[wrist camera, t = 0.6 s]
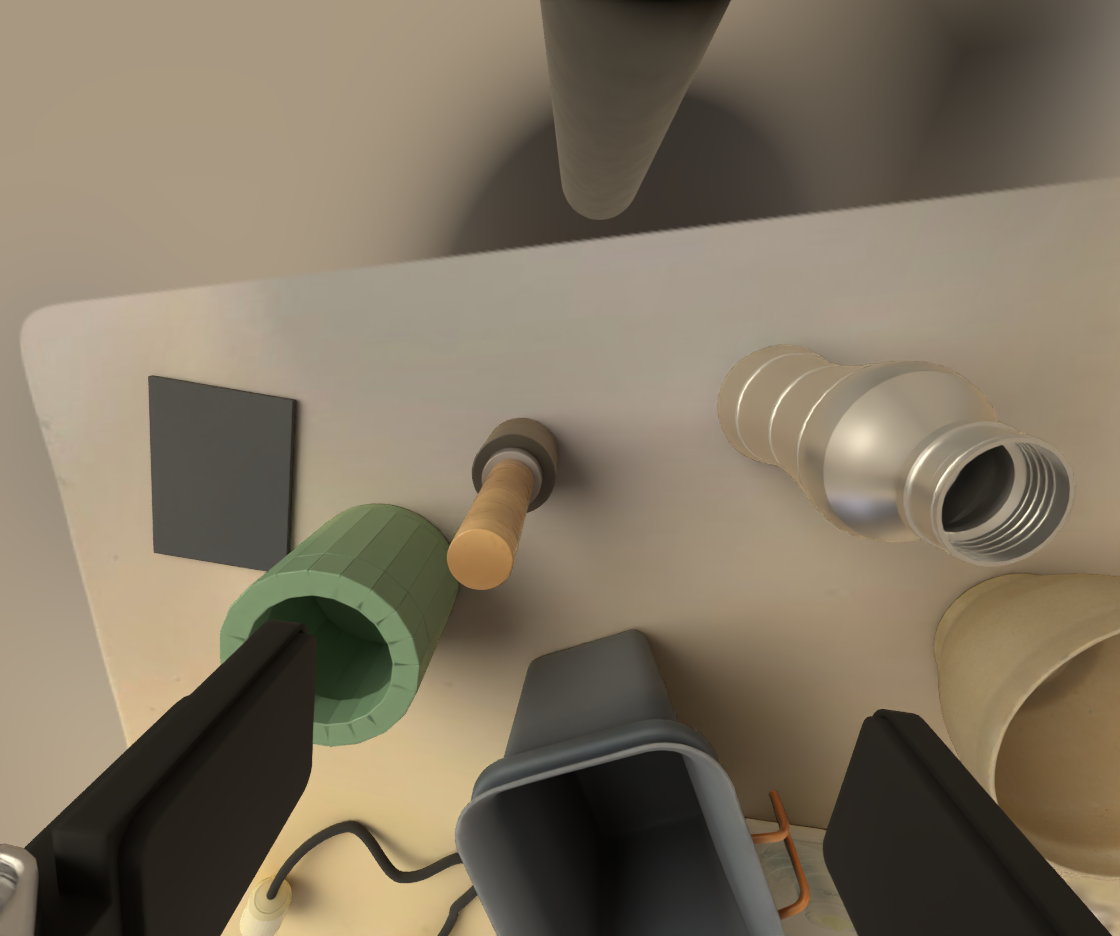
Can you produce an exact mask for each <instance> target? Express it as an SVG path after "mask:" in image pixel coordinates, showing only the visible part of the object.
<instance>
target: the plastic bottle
mask: <svg viewBox="0 0 1120 936" xmlns="http://www.w3.org/2000/svg"><path fill="white" fill-rule="evenodd" d="M717 406H718V417H719V420H720V424H721V427H722V429H723V431H724V433H725V435H726V437H727V439H728V441H729V442H730V443H731V444H732V445H733V447H734V448H735V449H736V450H738V451H739V452H740V453H742V454H743V455H745V456H747V457H749V458H751V459H754V460H756V461H759V462H763V463H767V464H771V465H776V466H778V467H780V468H782V469H784V470H785V471H786V472H787V473H788V474H789V475H790V476H791V477H792V478H794V479H795V480H796V482H797V483H798V484H799V486H800V487H801V488H802V490H803V491H804V492H805V494H806V495H807V496H808V498H809V500H810V501H811V502H812V503H813V504H814V506H815V507H816V508H817V509H818V510H819V511H820V512H821V513H822V514H823V515H824V516H825V517H826V518H827V519H828V520H829V521H830V522H832V523H833V524H834V525H835V526H837V527H838V528H839V529H841V530H843V531H846V532H848V533H850V534H852V535H854V536H859V537H863V538H867V539H872V540H877V541H883V542H907V541H914V540H920V539H922V540H923V541H925V542H926V543H928V544H930V545H933V546H935V547H937V548H941V549H943V550H944V551H946V552H948V553H949V554H950V555H952V556H953V557H955V558H957V559H959V560H962V561H964V562H967V563H969V564H973V565H977V566H982V567H998V566H1004V565H1009V564H1013V563H1016V562H1019V561H1022V560H1024V559H1025V558H1027V557H1029V556H1031V555H1033V554H1035V553H1036V552H1038V551H1039V550H1040V549H1042V548H1043V547H1045V546H1046V545H1047V544H1048V543H1049V542H1050V541H1051V540H1052V539H1053V538H1054V537H1055V536H1056V535H1057V533H1058V532H1059V531H1060V529H1061V528H1062V527H1063V525H1064V524H1065V522H1066V520H1067V518H1068V516H1069V514H1070V512H1071V508H1072V505H1073V502H1074V495H1075V481H1074V474H1073V472H1072V469H1071V466H1070V464H1069V462H1068V461H1067V459H1066V458H1065V457H1064V455H1063V454H1062V453H1061V452H1060V451H1058V450H1057V449H1056V448H1055V447H1054V446H1052V445H1050V444H1049V443H1047V442H1045V441H1043V440H1041V439H1039V438H1036V437H1033V436H1029V435H1026V434H1022V433H1020V432H1019V431H1018V430H1016V429H1014V428H1012V427H1009V426H1007V425H1005V424H1001V423H999V422H998V419H997V417H996V415H995V412H994V410H993V407H992V405H991V404H990V403H989V401H988V400H987V398H986V397H985V396H984V394H983V393H982V392H981V391H980V390H978V389H977V388H976V387H975V386H974V385H972V384H971V383H970V382H969V381H967V380H966V379H965V378H963V377H962V376H960V375H959V374H958V373H956V372H954V371H952V370H950V369H948V368H946V367H944V366H941V365H937V364H932V363H928V362H916V361H891V362H884V363H876V364H868V365H860V366H844V365H836V364H834V363H831V362H828V361H826V360H825V359H824V358H823V357H821V356H819V355H817V354H815V353H813V352H811V351H809V350H807V349H805V348H803V347H799V346H795V345H776V346H770V347H767V348H764V349H761V350H759V351H756V352H754V353H751V354H750V355H748V356H746V357H745V358H743V359H742V360H741V361H739V362H738V363H737V364H736V365H735V366H734V367H733V368H732V370H731V371H730V372H729V373H728V375H727V376H726V378H725V380H724V382H723V384H722V386H721V390H720V393H719V397H718V405H717Z"/></svg>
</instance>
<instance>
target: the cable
mask: <svg viewBox="0 0 1120 936" xmlns="http://www.w3.org/2000/svg"><path fill="white" fill-rule="evenodd" d="M345 832H351V833H353V834H355V835H356V836H358V837H359V838H360V839H361V840H362V841H363V842H364V844H365V845H366V846H367V847H368V849H369V850H370V852H371V853H372V855H373V856H374V858H375V860H376V861H377V863H378V864H379V866H380V867H381V869H382V870H383V871H384V872H385V874H386V875H387V876H388V877H389V878H391V879H392V880H393V881H395V882H398V883H413V882H418V881H421V880H424V879H426V878H429V877H431V876H433V875H435V874H437V873H439V872H441V871H442V870H444V869H446V868H448V867H450V866H453V865H456V864H460V863H463V862H462V860H461V858H460V855H459V853H455V854H452V855H449V856H447V857H445V858H443V859H441V860H439V861H437V862H435V863H433V864H432V865H430V866H427V867H425V868H423V869H420V870H417V871H411V872H402V871H399V870H398V869H396V868H395V867H394V866H393V865H392V863H391V862H390V861H389V859H388V858H387V856H386V855H385V853H384V852H383V850H382V849H381V847H380V846H379V844H378V843H377V841H376V840H375V838H374V837H373V836H372V834H371V833H370V832H369V831H368V830H367V829H366V828H365V827H363V826H362V825H361V824H359V823H356V822H352V821H348V822H342V823H338V824H335V825H333V826H330V827H328V828H326V829H324V830H322V831H320V832H319V833H317V834H315V835H314V836H312V837H311V838H310V839H308V840H307V841H306V842H304V843H303V844H302V845H301V846H300V847H299V848H298V849H297V850H296V851H295V852H294V853H293V854H292V855H291V856H290V857H289V858H288V859H287V861H286V862H285V863H284V865H283V866H282V867H281V869H280V870H279V872H278V873H277V875H276V877H270V878H267V879H265V880H263V881H261V882H260V883H259V884H258V885H257V886H256V887H255V888H254V889H253V891H252V893H251V895H250V897H249V900H248V902H247V905H246V907H245V910H244V912H243V915H242V917H241V921H240V931H241V934H242V936H274V934H275V933H276V932H277V931H278V929H279V927H280V925H281V923H282V921H283V919H284V916H285V914H286V912H287V910H288V907H289V905H290V903H291V899H292V890H291V887H290V885H289V884H288V882H287V881H286V880H284V879H285V878H286V876H287V875H288V873H289V872H290V871H291V869H292V868H293V867H294V865H295V864H296V863H297V862H298V861H299V860H300V859H301V858H302V857H303V856H304V855H305V854H306V853H307V852H308V851H310V850H311V849H312V848H314V847H315V846H316V845H318V844H319V843H321V842H323V841H324V840H326V839H328V838H330V837H332V836H335V835H337V834H341V833H345ZM477 895H478V894H477V892H476V890H475V888H474V886H472V887H471V888H470V889H469V890H468V891H467V892H465V893H464V894H463V895H462V896H461V897H460V898H459V899H457V900H456V901H455V902H454V903H453V905H452V906H451V908H450V912H449V916H448V918H447V920H446V922H445V924H444V926H443V928H442V929H441V931H440V933H439V934H438V936H448V935H449V933H450V932H451V930H452V928H453V926H454V924H455V922H456V920H457V917H458V912H459V911H460V910H461V909H462V908H463V907H464V906H466V905H467V904H468V903H469V902H470V901H471V900H473V899H474V898H475V897H476V896H477Z"/></svg>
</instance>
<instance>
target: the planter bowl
mask: <svg viewBox="0 0 1120 936" xmlns="http://www.w3.org/2000/svg"><path fill="white" fill-rule="evenodd" d="M934 655H935V659H936V663H937V665H938V668H939V671H938V688H939V696H940V704H941V709H942V714H943V718H944V721H945V724H946V727H947V730H948V733H949V736H950V738H951V741H952V743H953V745H954V747H955V750H956V752H957V754H958V756H959V758H960V760H961V762H962V763H963V765H964V767H965V768H966V769H967V770H968V771H969V772H970V773H971V775H972V776H973V777H974V778H975V779H976V780H977V781H978V783H979V784H980V785H981V786H982V787H983V788H984V789H985V791H986V792H987V793H988V794H989V795H990V796H991V797H992V799H993V800H994V801H995V802H996V803H997V804H998V805H999V807H1000V808H1001V809H1002V810H1003V811H1004V812H1005V814H1006V815H1007V816H1008V817H1009V818H1010V819H1011V820H1012V822H1013V823H1014V824H1015V825H1016V826H1017V827H1018V828H1019V830H1020V831H1021V832H1022V833H1023V834H1024V835H1025V836H1026V838H1027V839H1028V840H1029V841H1030V842H1031V843H1032V844H1033V846H1034V847H1035V848H1036V849H1037V850H1038V851H1039V852H1040V854H1041V855H1042V856H1043V857H1044V858H1045V859H1046V861H1047V862H1048V863H1049V864H1050V865H1051V866H1052V867H1054V868H1056V869H1059V870H1062V871H1064V872H1067V873H1071V874H1074V875H1078V876H1082V877H1088V878H1094V879H1102V880H1120V577H1118V576H1109V575H1098V574H1075V573H1074V574H1053V575H1044V576H1041V575H1035V574H1023V573H1019V574H1009V575H1003V576H999V577H996V578H992V579H989V580H987V581H984V582H982V583H980V584H978V585H976V586H975V587H973V588H971V589H969V590H968V591H966V592H965V593H964V594H962V595H961V596H960V597H959V598H957V599H956V601H955V602H954V603H953V604H952V605H951V606H950V607H949V608H948V610H947V611H946V613H945V614H944V616H943V617H942V619H941V621H940V623H939V625H938V628H937V631H936V635H935V639H934Z"/></svg>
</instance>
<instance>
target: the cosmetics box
mask: <svg viewBox="0 0 1120 936" xmlns="http://www.w3.org/2000/svg"><path fill="white" fill-rule="evenodd" d="M745 821H746V823H747V826H748V829H749V831H750V834H761V833H770V832H777V831H778V830H779V825H778V823H775V822H768V821H762V820H755V819H748V818H745ZM826 831H827V830H824V829H817V828H809V827H803V826H796V825H789V832H790V835H791V838H792V841H793V843H794V846H795V849H796V852H797V855H798V858H799V861H800V864H801V866H802V869H803V872H804V875H805V877H806V880H807V883H808V886H809V893H810V900H809V903H808V905H807V907H806V908H805V909H804V910H803V911H802V912H800V913H797V914H795V915H793V916H790V917H788V918H786V919H783V920H781V923H782V926H783V929H784V932H785V935H786V936H858V935H857V933H856V930H855V928H854V926H853V924H852V922H851V920H850V917H849V915H848V913H847V911H846V909H845V907H844V904H843V902H842V900H841V898H840V896H839V893H838V891H837V889H836V887H835V885H834V883H833V880H832V878H831V876H830V874H829V872H828V869H827V867H826V864H825V861H824V857H823V840H824V836H825V834H826ZM754 845H755V848H756V850H757V853H758V856H759V858H760V861H761V864H762V867H763V870H764V873H765V876H766V879H767V882H768V884H769V887H770V890H771V893H772V896H773V899H774V902H775V905H776V907H777V910H779V909H782V908H785V907H787V906H790V905H792V904H794V903H795V902H796V901H797V900H798V898H799V895H800V887H799V883H798V881H797V878H796V875H795V871H794V869H793V866H792V863H791V860H790V857H789V854H788V852H787V849H786V847H785V843H784V840H781V841H779V842H774V843H764V844H754Z"/></svg>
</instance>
